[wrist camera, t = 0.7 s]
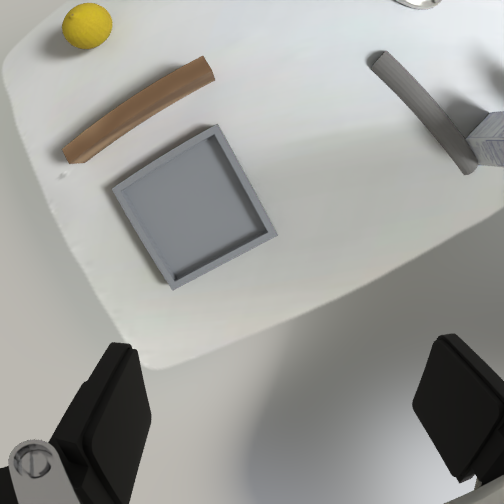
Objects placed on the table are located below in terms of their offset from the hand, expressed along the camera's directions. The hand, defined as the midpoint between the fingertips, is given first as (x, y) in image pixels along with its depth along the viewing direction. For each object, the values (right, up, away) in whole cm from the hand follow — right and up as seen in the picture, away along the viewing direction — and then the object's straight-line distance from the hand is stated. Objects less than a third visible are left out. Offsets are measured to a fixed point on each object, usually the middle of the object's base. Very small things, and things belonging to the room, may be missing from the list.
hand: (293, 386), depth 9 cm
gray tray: (-8, +9, +26) cm, 29 cm away
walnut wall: (-14, +20, +23) cm, 33 cm away
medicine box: (+31, +20, +25) cm, 45 cm away
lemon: (-20, +30, +20) cm, 41 cm away
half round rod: (+21, +22, +25) cm, 39 cm away
